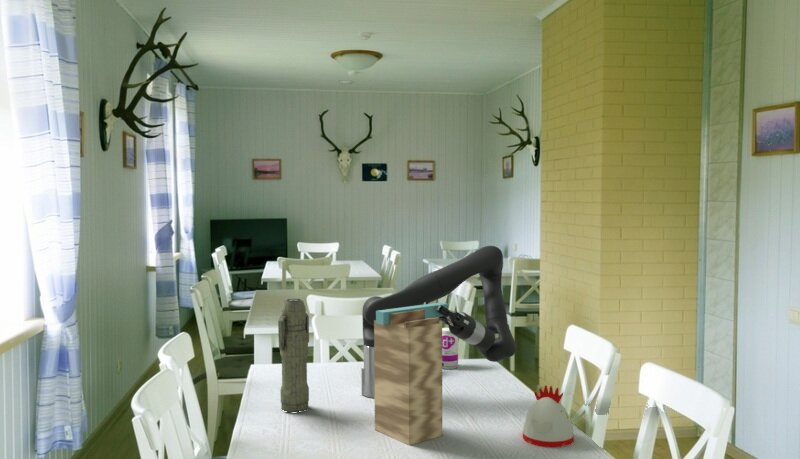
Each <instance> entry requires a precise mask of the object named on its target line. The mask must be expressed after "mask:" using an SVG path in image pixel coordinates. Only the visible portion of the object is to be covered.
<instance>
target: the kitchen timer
mask: <svg viewBox="0 0 800 459" xmlns="http://www.w3.org/2000/svg"><path fill="white" fill-rule="evenodd" d="M552 386H553V385H550V386H549V389H548V386H547V385H546V384H545V385H544V388H543V389H544V390H543V389H542V388H538V391H539V394H538V392H537V391H534V397H535V399H536V401H535V402H534V403H533V404H532V405H531V407H530V408H529V409H528V412H527V414H526V417H525V421H524V424H523V428H522V439H523V441H524V442H526V443H528V444H530V445H533V446H537V447H543V448H563V447H567V446H570V445H572V444H573V443H574V438H575V437H574V428H573V424H572V421H571V418H570V416H569V413H568V411H567V409H566V408H565V407H564V405H563V404H562V403H561V402H560V401H561V399H562V397H563V395H564V392H562V393H560V394H559V392H560V391H559V387H556V388H555V391H554V390H553V387H552ZM572 442H573V443H572ZM571 443H572V444H571ZM569 444H570V445H569ZM562 446H563V447H562Z"/></svg>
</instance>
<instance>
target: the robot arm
mask: <svg viewBox="0 0 800 459" xmlns="http://www.w3.org/2000/svg"><path fill="white" fill-rule="evenodd" d="M503 269H504V255H503V252H502V250H501V249H500V248H499V247H497V245H496V246H495V245H487V246H483V247H481V248H479V249H477V250H475V251H473V252H471V253H469V254H468V255H466V256H465V257H463V258H461V259H459V260H457V261H454V262H452V263H450V264H448V265H446V266H443V267H441V268H439V269H437V270H435V271H432V272H429V273H427V274H425V275H422V276H421V277H419V278H417V279H416V280H414V281H412V282H411V283H410V284H408V285H407V286H406V287H404V288H403V289H402V290H400V291H397V292H395V293H392V294H390V295H388V296H387V295H386V296H384V297H381V296H378V295H376V296H371V297H369V298H368V299H366V300H365V301H364V304H363V306H362V312H361V313H362V336H363V337H362V338H363V366H362V367H361V370H360V371H361V373H360V375H361V378H360V379H361V395H362V396H365V397H367V398H371V399H372V398H373V399H375V378H374V320H376V311H379V310H386V309H394V308H402V307H409V306H417V305H425V304H431V303H433V302H435V301H438V300H439V299H442V298H444V297H446V296H448V295H449V294H451V293H452V292H454V291H455V290H456V289H457V288H458V287H459V286H460V285H462V284H463V283H464V282H465V281H466V280H468V279H469V278H472V277H474V276H476V275H479V278H480V282H481V285H482V289H483V299H484V300H483V301H484V305H483V306H484V316H485V318H484V319H485V325H483V324H482V323H481V322H480V321H478V320H477V319H475V318H474V317H472V316H471V315H469V314H467V313H466V312H464V311H460V312H458V311H454V310H452V309H449V308H448V309H447V308H445V307H444V306H442V305H439V306H438V309H437V312H438V313H440V314H442V315H443V316H441V317H438V318H439V322H440V323H441V322H442V324H444V325H445V326H448V328H449V330H450V332H451V333H452V334H453V335H455V336H456V337H458V339H460V340H462V341H463V342H465V343H467V344H468V345H471V346H473V347H475V348H477V349H478V350H479V352H480V353H481V354H482V355H483V356H484V357H485V359H486V360H487V361H489V362H493V363H494V362H495V363H497V362H500V361H502V360H505V359H508V358H511V357H513V356H514V355H516V354H515V353H516V351H517V343H516V341H515V338H514V336H513V334H512V332H511V329H510V325H509V324H508V323H509V322H508V315H507V308H506V303H505V300H504V299H505V298H504V296H503V290H502V277H503V275H502V273H503ZM434 318H436V317H434ZM496 335H498V337H496Z"/></svg>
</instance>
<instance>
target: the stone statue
mask: <svg viewBox="0 0 800 459" xmlns="http://www.w3.org/2000/svg"><path fill="white" fill-rule="evenodd" d="M309 318H310V316H309V315H308V313H307V311H306V306H305V303H304V300H302V299H300V298H287V299H286V300H284V301H283V303H282V307H281V315H280V316H279V319H278V320H277V322H278V330H277V331H278V349H279V353H280V354H279V355H280V357H281V387H280V389H279V390H280V391H279V392H280V403H281V406H280V407H281V408H280V409H282V410H284V411H287V412H299V411H304V410H306V411H308V410H309V408H308V407H309V401H310V390H309V389H310V387H309V385H308V362H307V361H308V358H307V357H308V355H309V342H310V319H309ZM307 409H308V410H307ZM282 410H281V411H282ZM287 412H286V413H287ZM304 412H305V411H304ZM299 413H300V412H299Z"/></svg>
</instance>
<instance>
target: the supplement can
mask: <svg viewBox="0 0 800 459" xmlns="http://www.w3.org/2000/svg"><path fill="white" fill-rule="evenodd" d="M457 367H459V338H458V337H456V336H455V335H453V334H452V333H451V332H450V330H449V327H442V370H453V369H456V368H457Z"/></svg>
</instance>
